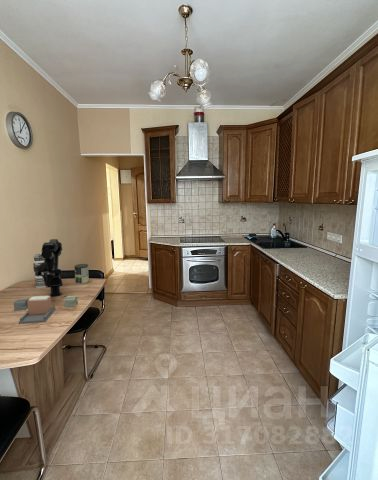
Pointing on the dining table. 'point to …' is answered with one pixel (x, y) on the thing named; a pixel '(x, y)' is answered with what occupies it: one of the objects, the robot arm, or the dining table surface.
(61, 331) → the dining table surface
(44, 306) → the terracotta key block
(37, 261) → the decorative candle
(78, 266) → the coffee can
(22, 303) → the slate block
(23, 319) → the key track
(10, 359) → the dining table surface
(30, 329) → the dining table surface
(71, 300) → the sage block
